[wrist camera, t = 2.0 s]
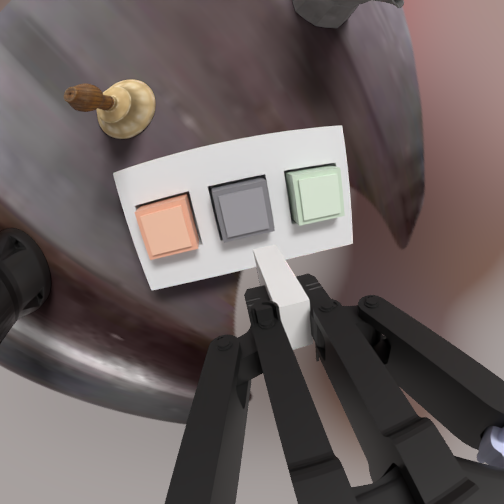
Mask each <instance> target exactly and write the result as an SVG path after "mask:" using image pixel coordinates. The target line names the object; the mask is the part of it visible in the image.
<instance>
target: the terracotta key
mask: <svg viewBox="0 0 504 504" xmlns="http://www.w3.org/2000/svg"><path fill="white" fill-rule="evenodd" d="M134 213H135V216H136V219H137V222H138V226H139V229H140V232H141V235H142V238H143V241H144V244H145V247H146V250H147V253H148V256H149V259H150V260H153V259H157V258H161V257H165V256H170V255H174V254H178V253H182V252H186V251H191V250H195V249H198V246H199V237H198V234H197V230H196V226H195V222H194V218H193V215H192V211H191V207H190V203H189V199H188V195H187V194H184V195H180V196H176V197H172V198H168V199H164V200H161V201H157V202H154V203H150V204H146V205H143V206H140V207H139V208H138V209H137V210H136V211H135V212H134Z"/></svg>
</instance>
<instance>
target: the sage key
mask: <svg viewBox="0 0 504 504" xmlns="http://www.w3.org/2000/svg"><path fill="white" fill-rule="evenodd" d="M285 175H286V181H287V187H288V194H289V200H290V207H291V214H292V219H293V220H294V221H295V222H296V223H297V224H298V225H299V226H300V225H305V224H309V223H314V222H319V221H323V220H328V219H333V218H337V217H342V216H345V214H344V201H343V189H342V179H341V170H340V168H339V167H335V166H331V165H328V166H322V167H315V168H309V169H303V170H297V171H291V172H285Z"/></svg>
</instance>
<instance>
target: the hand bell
mask: <svg viewBox="0 0 504 504" xmlns="http://www.w3.org/2000/svg"><path fill="white" fill-rule="evenodd" d="M64 99H65V101H67V102H68V103H69V104H70V106H71V107H73V108H74V109H75V110H78V111H83V112H88V111H93V110H95V109H97V117H98V122H99V125H100V127H101V128H102V130H103V131H104V132H105V133H106V134H107V135H109V136H111V137H113V138H117V139H126V138H131V137H133V136H136V135H137V134H139V133H140V132H142V131H143V130H144V129H145V128H146V127H147V126H148V125H149V123H150V122H151V120H152V118H153V115H154V112H155V97H154V94H153V92H152V90H151V89H150V88H149V86H147V85H146V84H145V83H143V82H141V81H138V80H132V79H130V80H123V81H120V82H118V83H116V84H114V85H113V86H111V87H110V88H109V89H108V90H106V91H105V92H104V93H102V91H101V90H100V89H99V88H98V87H96V86H94V85H91V84H80V85H77V86H74V87H69V88H68V89H67V90H66V91H65V93H64Z"/></svg>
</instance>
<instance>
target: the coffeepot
mask: <svg viewBox="0 0 504 504" xmlns="http://www.w3.org/2000/svg"><path fill="white" fill-rule="evenodd" d="M368 1H371V0H293V5H294V8H295V11H296V12H297V13H298V14H299V15H300V16H302V17H303V18H304V19H305V20H307V21H308V22H310V23H312V24H313V25H314V26H319V27H325V28H338V27H339V26H340V25H342V24H343V23H344V22H345V21H346V20H347V19H348V18H349V17H350V16H351V15H352V13H353V12H354V11H355V9H356V8H357V7H358V6H359V4H363V3H365V2H368ZM375 1H381V2H386V3H390V4H393V5H395V6H396V7H397V8H401V7H402V6H403V4H404V1H403V0H375Z"/></svg>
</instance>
